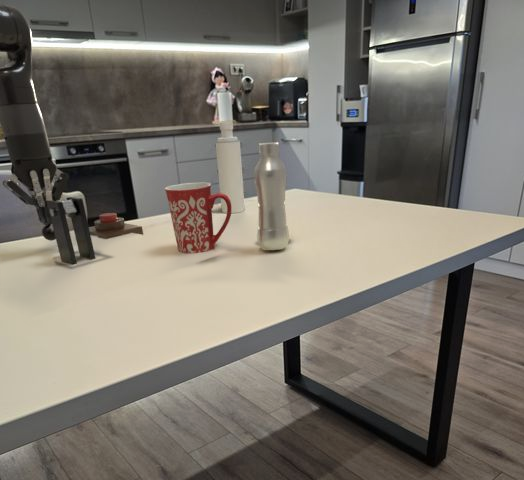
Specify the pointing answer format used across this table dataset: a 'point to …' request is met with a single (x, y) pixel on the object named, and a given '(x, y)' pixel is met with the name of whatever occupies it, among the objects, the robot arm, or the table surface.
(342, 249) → the table surface
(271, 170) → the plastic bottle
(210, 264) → the table surface
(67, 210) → the tap lever
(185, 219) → the mug
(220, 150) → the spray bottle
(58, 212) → the bracket
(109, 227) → the button block
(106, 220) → the button
